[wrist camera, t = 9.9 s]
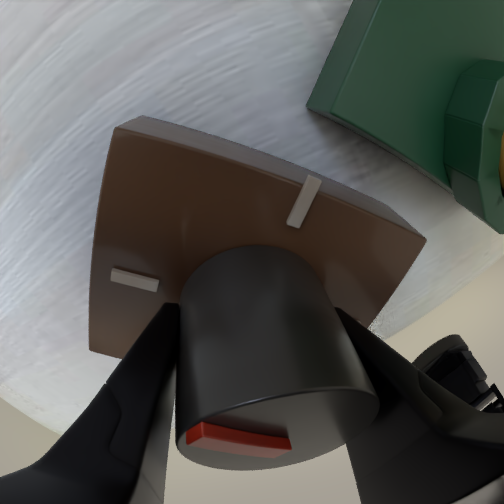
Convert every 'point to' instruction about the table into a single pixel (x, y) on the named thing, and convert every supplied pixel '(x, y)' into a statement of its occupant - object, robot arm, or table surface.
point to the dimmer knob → (264, 364)
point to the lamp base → (425, 91)
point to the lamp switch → (501, 164)
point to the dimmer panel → (227, 226)
